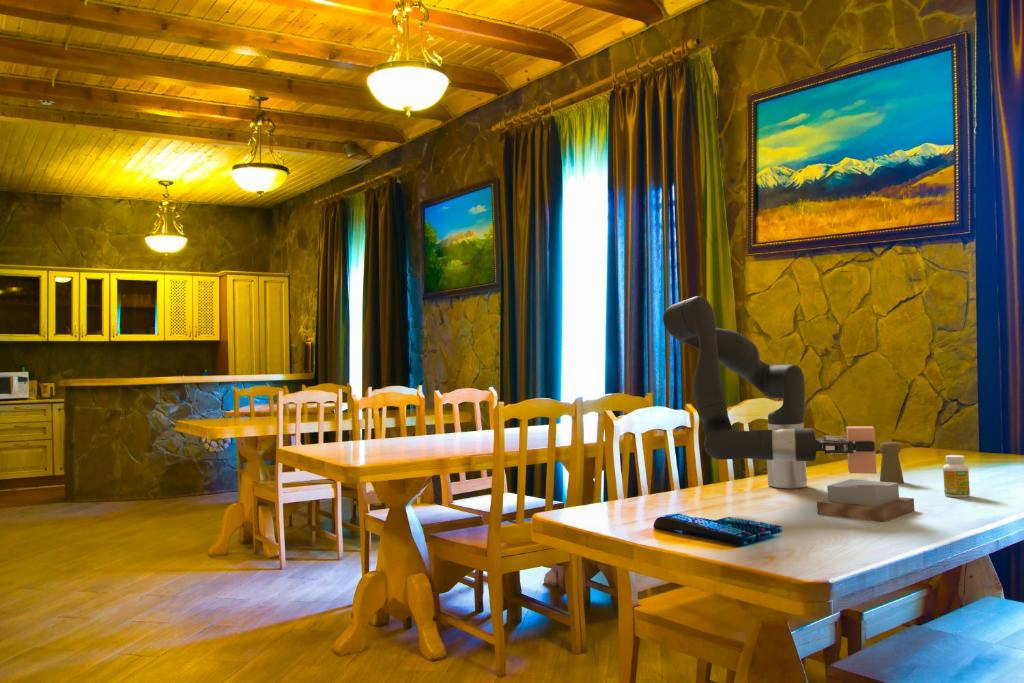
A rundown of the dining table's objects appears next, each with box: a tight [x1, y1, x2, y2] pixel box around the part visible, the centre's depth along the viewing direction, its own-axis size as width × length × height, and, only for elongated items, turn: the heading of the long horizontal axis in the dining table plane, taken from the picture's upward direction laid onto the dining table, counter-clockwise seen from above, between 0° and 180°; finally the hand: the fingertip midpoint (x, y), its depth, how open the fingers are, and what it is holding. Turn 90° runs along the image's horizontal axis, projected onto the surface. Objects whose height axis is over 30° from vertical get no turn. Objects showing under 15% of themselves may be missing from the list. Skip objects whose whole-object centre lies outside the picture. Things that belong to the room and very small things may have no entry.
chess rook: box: [879, 441, 905, 485], centre depth 219 cm, size 6×6×11 cm
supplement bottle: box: [942, 454, 971, 499], centre depth 195 cm, size 5×5×10 cm
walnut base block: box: [816, 496, 915, 523], centre depth 181 cm, size 15×15×4 cm
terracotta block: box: [845, 425, 878, 475], centre depth 181 cm, size 6×6×10 cm
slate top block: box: [827, 478, 900, 506], centre depth 181 cm, size 11×11×4 cm
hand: (872, 444), depth 180 cm, fingers closed on terracotta block, 5 cm apart
